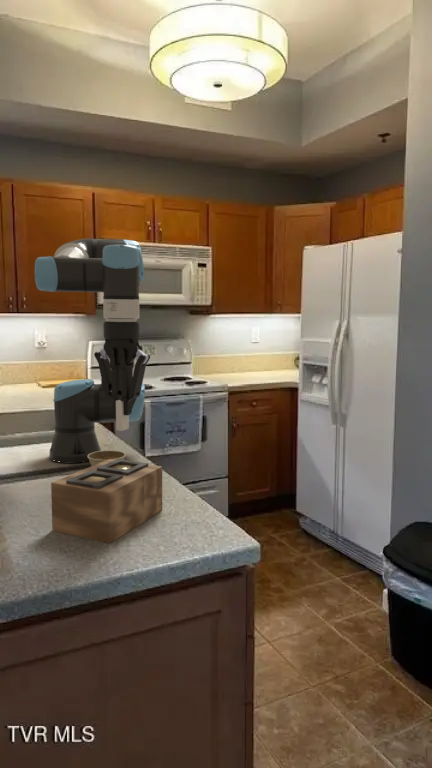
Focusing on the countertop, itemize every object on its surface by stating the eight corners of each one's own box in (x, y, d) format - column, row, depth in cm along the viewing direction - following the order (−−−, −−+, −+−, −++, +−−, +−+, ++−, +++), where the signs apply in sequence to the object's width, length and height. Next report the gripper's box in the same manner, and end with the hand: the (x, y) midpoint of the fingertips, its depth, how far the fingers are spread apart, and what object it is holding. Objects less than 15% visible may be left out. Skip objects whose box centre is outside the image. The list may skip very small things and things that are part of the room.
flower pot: (80, 488, 138) (79, 454, 136) (111, 480, 144) (110, 448, 143) (102, 497, 131) (102, 462, 130) (133, 488, 138) (133, 454, 137)
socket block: (110, 500, 129) (110, 456, 128) (162, 509, 123) (162, 463, 122) (52, 530, 111) (50, 479, 110) (109, 543, 105) (108, 489, 104)
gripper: (85, 319, 115) (87, 429, 119) (138, 321, 110) (138, 436, 114) (106, 319, 122) (108, 422, 126) (157, 320, 117) (157, 429, 120)
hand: (122, 429), depth 120 cm, fingers closed
